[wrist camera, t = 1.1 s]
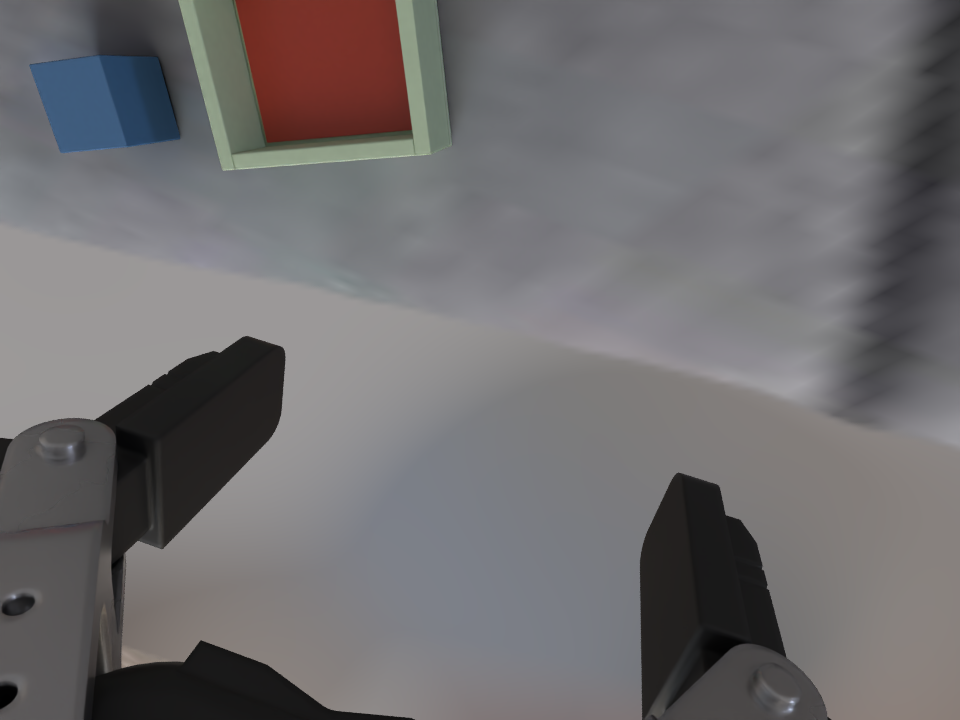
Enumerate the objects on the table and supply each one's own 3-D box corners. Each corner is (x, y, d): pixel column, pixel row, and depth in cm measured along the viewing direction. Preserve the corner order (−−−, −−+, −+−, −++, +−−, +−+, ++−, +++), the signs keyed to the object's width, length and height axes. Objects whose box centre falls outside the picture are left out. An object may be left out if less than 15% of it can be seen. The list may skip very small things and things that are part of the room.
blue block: (94, 65, 35) (28, 64, 32) (158, 56, 34) (97, 54, 30) (119, 144, 37) (60, 153, 33) (181, 138, 36) (127, 147, 32)
